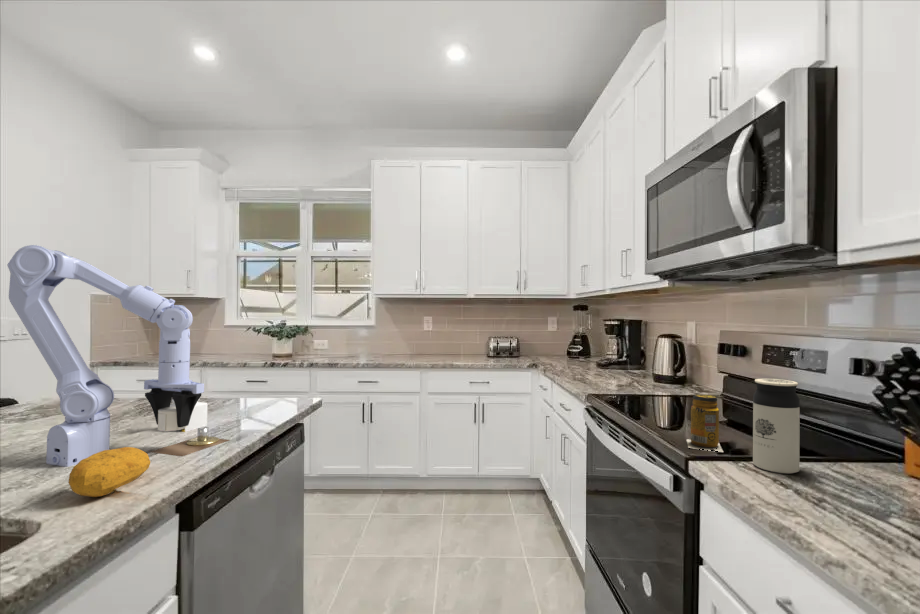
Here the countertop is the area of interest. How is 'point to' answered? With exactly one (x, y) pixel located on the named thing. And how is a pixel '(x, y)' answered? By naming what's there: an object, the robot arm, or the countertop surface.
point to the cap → (168, 419)
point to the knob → (202, 438)
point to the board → (184, 448)
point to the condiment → (704, 423)
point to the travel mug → (776, 426)
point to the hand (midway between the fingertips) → (172, 425)
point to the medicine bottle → (195, 415)
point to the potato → (107, 471)
